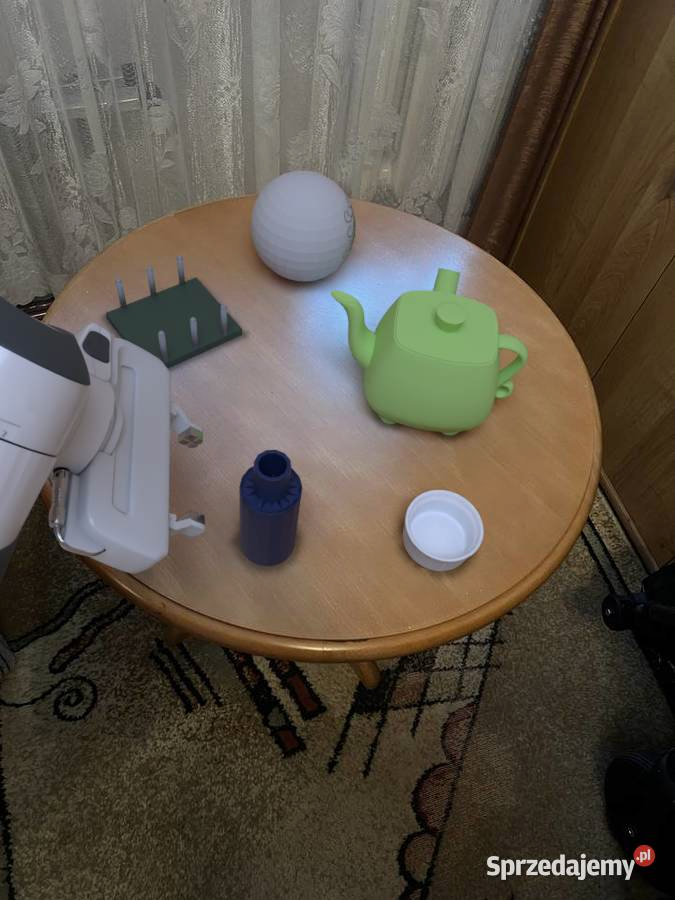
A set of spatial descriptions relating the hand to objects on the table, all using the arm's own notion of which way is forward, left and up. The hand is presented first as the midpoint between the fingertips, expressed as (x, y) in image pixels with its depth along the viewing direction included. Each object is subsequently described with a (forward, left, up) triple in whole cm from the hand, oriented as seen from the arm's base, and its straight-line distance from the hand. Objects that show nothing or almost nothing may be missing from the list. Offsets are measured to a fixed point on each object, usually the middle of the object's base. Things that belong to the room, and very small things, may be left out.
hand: (199, 481), depth 60 cm
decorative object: (+36, +32, -15) cm, 51 cm away
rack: (+14, +31, -15) cm, 37 cm away
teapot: (+36, +6, -15) cm, 40 cm away
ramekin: (+22, -14, -15) cm, 30 cm away
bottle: (+6, -3, -15) cm, 16 cm away
